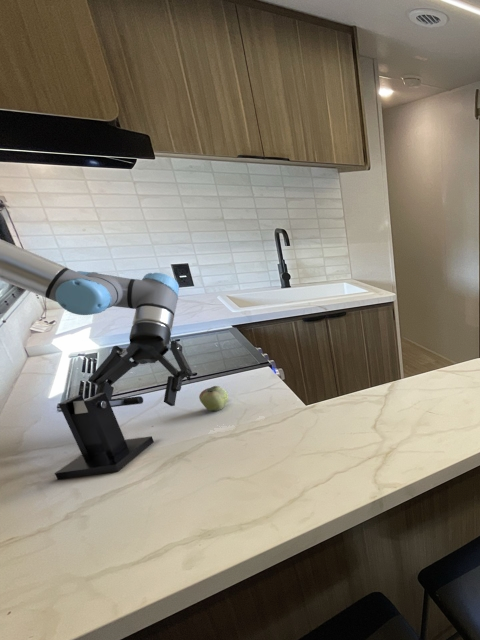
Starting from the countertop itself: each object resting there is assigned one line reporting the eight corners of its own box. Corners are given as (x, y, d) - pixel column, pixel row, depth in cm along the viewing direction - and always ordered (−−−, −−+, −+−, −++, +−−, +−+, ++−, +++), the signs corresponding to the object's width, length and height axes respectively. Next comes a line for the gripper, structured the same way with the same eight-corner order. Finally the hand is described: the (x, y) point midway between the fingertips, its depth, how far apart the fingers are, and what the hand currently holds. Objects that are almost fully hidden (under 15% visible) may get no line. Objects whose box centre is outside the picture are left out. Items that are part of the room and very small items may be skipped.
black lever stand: (102, 448, 87) (76, 390, 82) (154, 442, 89) (131, 384, 84) (57, 480, 76) (24, 414, 71) (118, 471, 78) (90, 406, 73)
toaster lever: (110, 408, 88) (108, 398, 88) (144, 404, 90) (142, 394, 89) (61, 415, 76) (59, 403, 76) (100, 411, 78) (98, 398, 77)
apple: (230, 400, 110) (224, 380, 108) (231, 409, 104) (224, 388, 102) (204, 406, 107) (197, 385, 105) (203, 416, 101) (196, 394, 99)
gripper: (215, 332, 106) (205, 406, 97) (106, 341, 101) (85, 420, 93) (199, 316, 99) (186, 394, 90) (81, 325, 95) (57, 408, 86)
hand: (135, 407), depth 91 cm, fingers open, 13 cm apart
